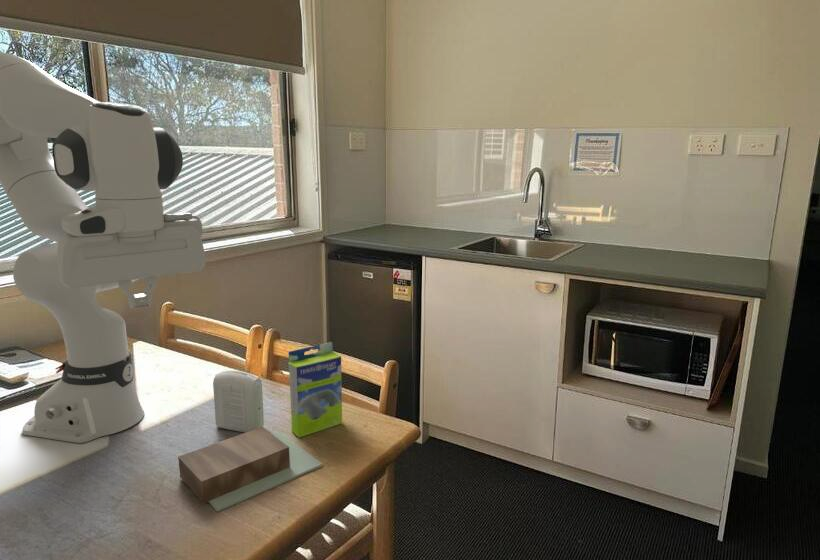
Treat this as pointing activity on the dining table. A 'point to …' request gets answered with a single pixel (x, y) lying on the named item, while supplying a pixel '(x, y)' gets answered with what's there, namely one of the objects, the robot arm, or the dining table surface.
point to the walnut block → (233, 463)
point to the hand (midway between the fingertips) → (140, 306)
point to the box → (315, 389)
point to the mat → (271, 476)
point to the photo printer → (238, 401)
